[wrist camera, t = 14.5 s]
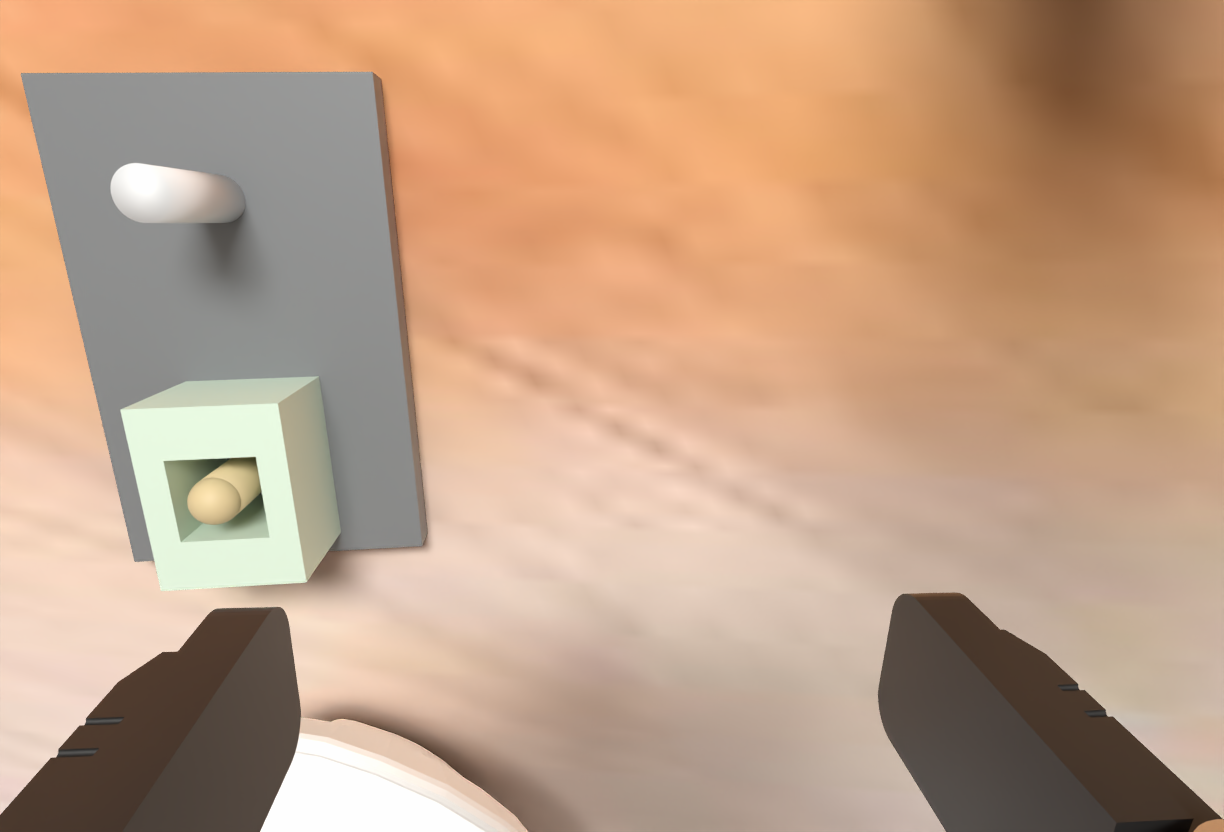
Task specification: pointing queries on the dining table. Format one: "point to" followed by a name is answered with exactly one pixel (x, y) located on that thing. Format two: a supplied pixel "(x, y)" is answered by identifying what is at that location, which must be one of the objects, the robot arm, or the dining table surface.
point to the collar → (202, 441)
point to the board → (239, 267)
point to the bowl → (377, 787)
